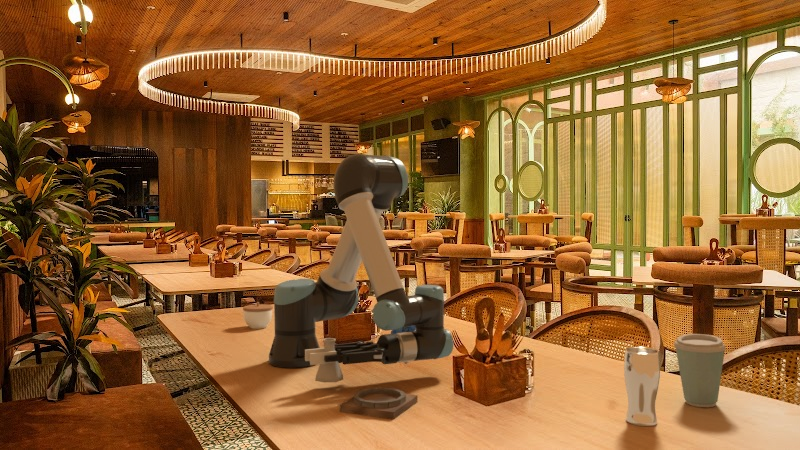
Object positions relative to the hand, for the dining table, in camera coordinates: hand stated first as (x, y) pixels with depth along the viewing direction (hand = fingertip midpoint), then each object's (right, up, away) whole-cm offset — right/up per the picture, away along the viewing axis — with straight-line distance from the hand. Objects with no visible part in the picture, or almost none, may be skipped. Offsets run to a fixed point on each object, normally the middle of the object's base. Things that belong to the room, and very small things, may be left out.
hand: (308, 357), depth 157 cm
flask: (+5, -6, +3) cm, 8 cm away
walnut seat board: (+18, -9, -11) cm, 23 cm away
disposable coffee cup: (+90, -9, -10) cm, 91 cm away
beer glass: (+73, -9, -22) cm, 76 cm away
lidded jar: (-30, -6, +83) cm, 89 cm away
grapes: (+23, -7, +49) cm, 55 cm away
